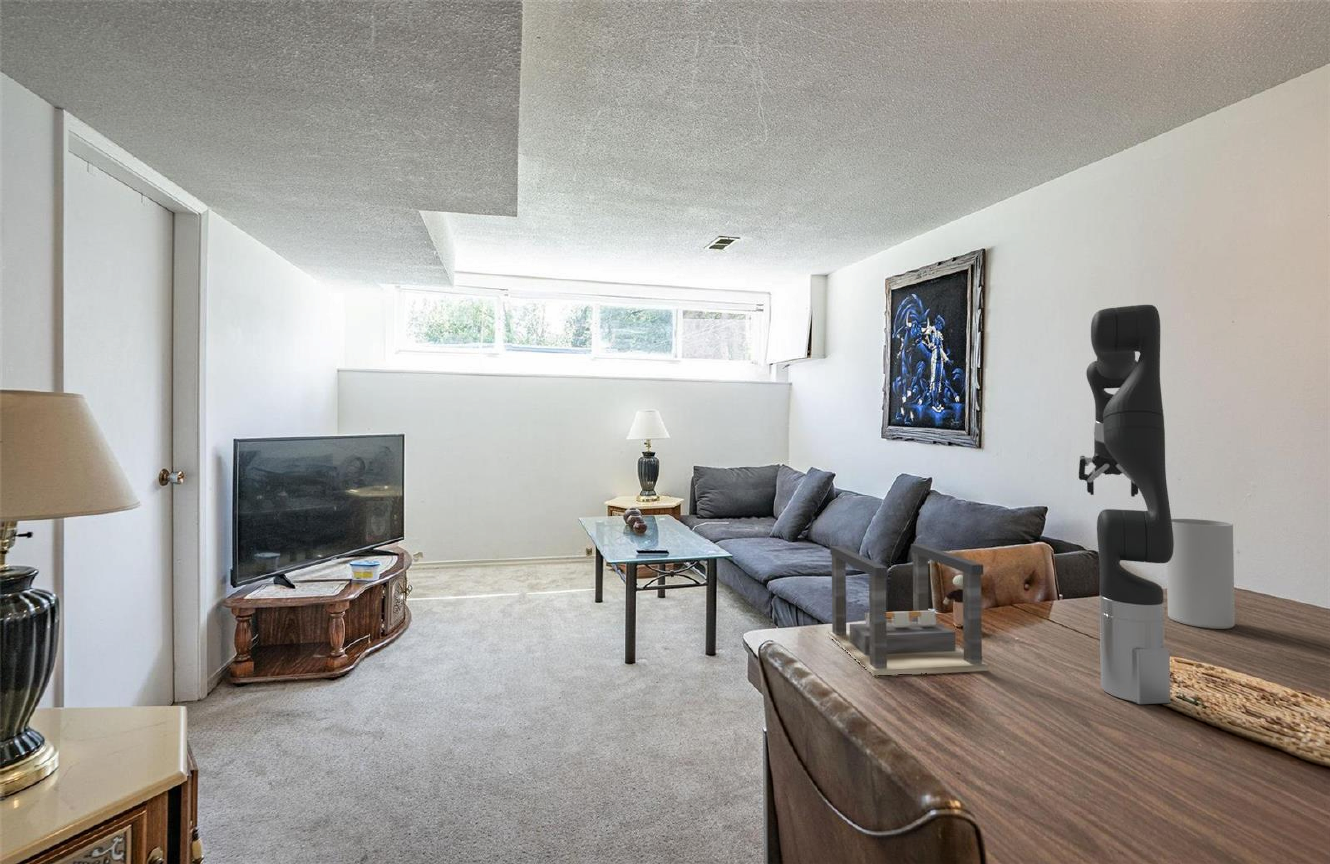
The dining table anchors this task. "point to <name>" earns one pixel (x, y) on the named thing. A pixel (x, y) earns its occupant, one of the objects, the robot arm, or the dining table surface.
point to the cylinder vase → (1201, 574)
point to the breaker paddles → (903, 617)
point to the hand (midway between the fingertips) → (1112, 494)
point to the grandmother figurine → (956, 600)
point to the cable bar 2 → (948, 559)
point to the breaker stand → (908, 629)
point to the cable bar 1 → (859, 562)
